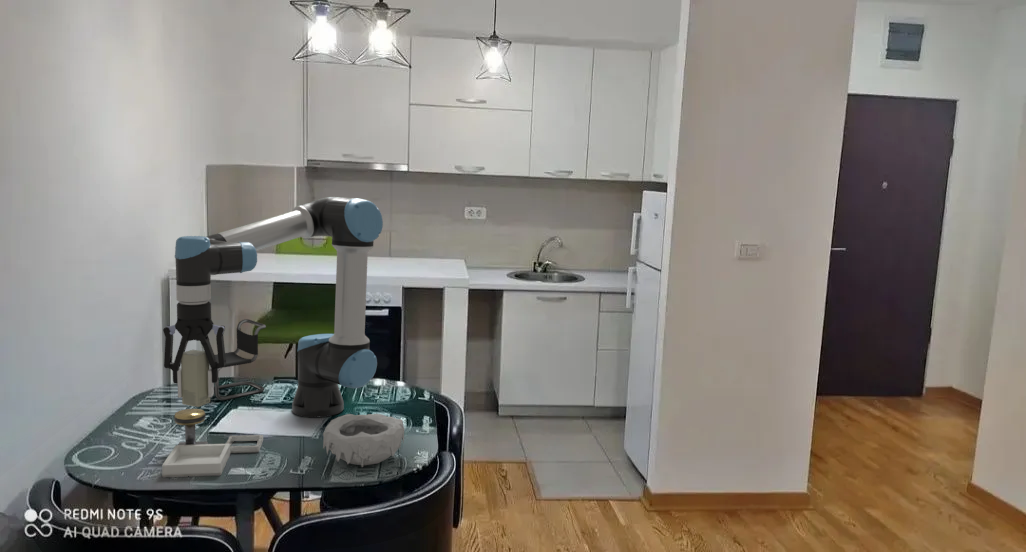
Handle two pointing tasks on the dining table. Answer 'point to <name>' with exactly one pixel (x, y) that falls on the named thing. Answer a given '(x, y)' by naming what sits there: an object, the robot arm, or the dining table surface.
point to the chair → (241, 359)
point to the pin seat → (245, 448)
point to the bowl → (363, 438)
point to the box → (194, 378)
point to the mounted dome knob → (190, 424)
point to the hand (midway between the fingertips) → (196, 395)
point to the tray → (196, 460)
